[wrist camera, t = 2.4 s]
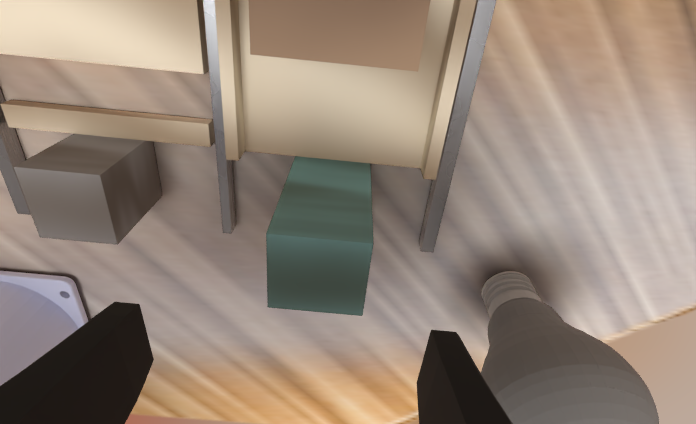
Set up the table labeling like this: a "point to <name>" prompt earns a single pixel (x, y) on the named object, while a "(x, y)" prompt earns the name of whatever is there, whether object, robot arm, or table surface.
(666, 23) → the table surface
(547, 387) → the light bulb
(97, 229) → the cream flat panel
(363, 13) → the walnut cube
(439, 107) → the cream sliding tray
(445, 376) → the robot arm
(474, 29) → the lane rails
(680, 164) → the table surface
